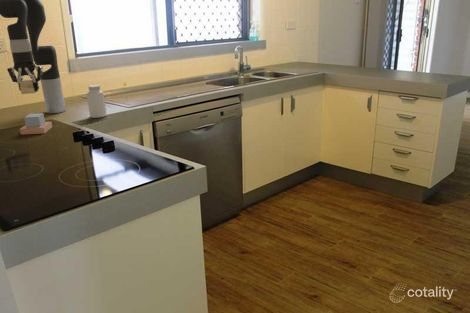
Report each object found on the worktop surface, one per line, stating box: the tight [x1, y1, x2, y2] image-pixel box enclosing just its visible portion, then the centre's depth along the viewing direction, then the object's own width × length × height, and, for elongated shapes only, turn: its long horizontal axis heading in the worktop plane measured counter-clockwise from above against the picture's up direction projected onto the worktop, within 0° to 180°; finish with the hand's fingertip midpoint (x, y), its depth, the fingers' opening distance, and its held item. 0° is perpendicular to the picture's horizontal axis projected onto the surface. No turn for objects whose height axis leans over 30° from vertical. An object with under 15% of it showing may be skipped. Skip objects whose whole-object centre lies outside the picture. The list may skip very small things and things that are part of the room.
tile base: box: [19, 121, 53, 135], centre depth 184 cm, size 10×10×2 cm
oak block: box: [19, 79, 38, 95], centre depth 177 cm, size 5×5×5 cm
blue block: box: [23, 112, 46, 127], centre depth 183 cm, size 6×6×4 cm
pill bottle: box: [86, 84, 107, 119], centre depth 203 cm, size 8×8×15 cm
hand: (29, 91), depth 178 cm, fingers closed on oak block, 5 cm apart
